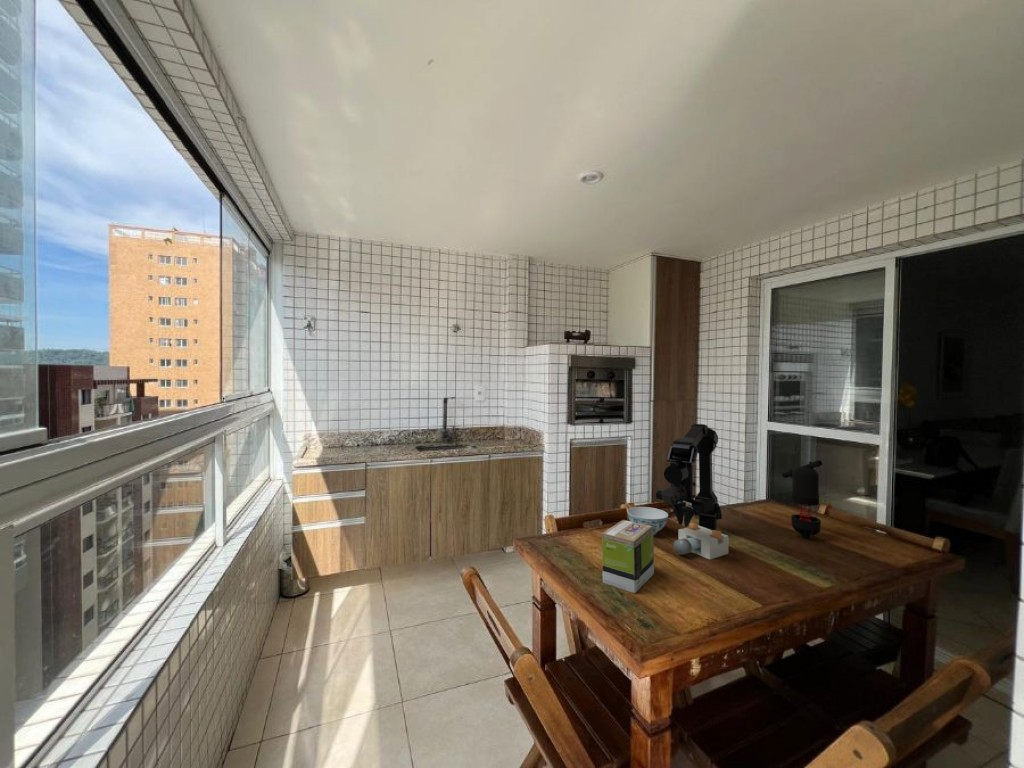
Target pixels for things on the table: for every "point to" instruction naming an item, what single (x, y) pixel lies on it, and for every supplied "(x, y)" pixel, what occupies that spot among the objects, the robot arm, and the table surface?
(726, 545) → the housing
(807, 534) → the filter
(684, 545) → the cartridge
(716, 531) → the plunger
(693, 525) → the plunger
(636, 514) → the chinaware
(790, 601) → the table surface
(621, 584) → the tea box
